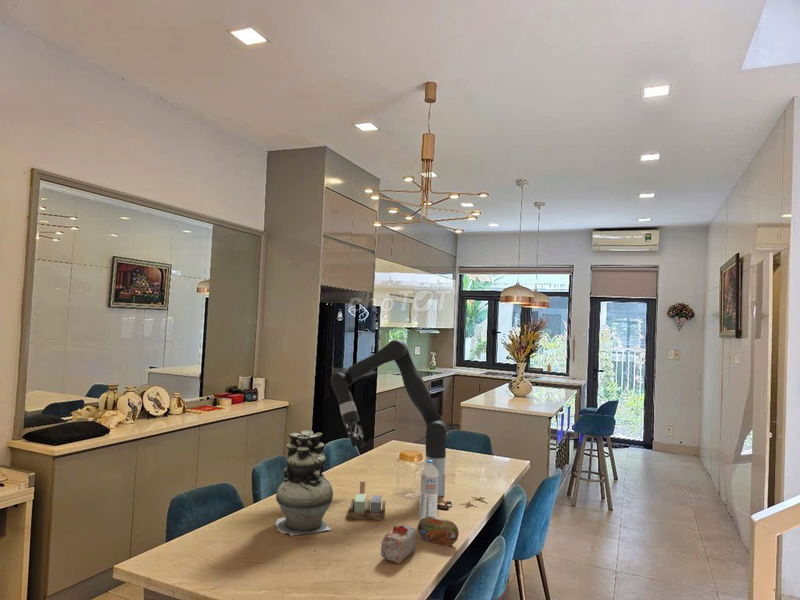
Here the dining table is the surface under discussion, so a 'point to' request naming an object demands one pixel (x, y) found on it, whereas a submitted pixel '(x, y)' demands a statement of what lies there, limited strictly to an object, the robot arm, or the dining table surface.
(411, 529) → the food item
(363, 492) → the sage block
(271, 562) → the dining table surface
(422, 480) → the water bottle
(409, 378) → the robot arm
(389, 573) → the dining table surface
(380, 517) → the lane rack
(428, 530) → the tin
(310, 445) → the decorative urn
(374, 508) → the slate block
